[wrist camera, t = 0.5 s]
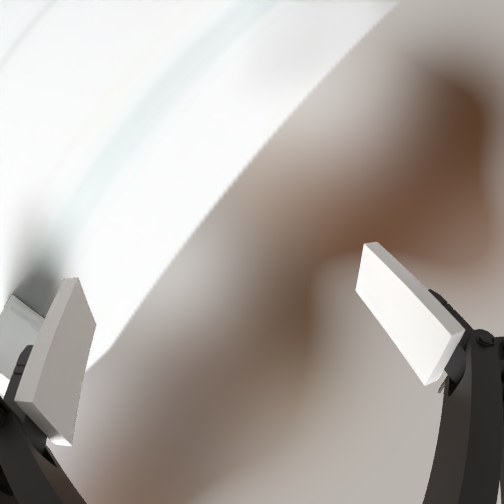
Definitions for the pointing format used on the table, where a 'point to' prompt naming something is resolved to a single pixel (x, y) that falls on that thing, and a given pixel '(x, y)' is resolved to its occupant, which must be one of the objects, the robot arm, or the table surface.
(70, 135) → the table surface
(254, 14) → the table surface
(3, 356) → the skincare box
